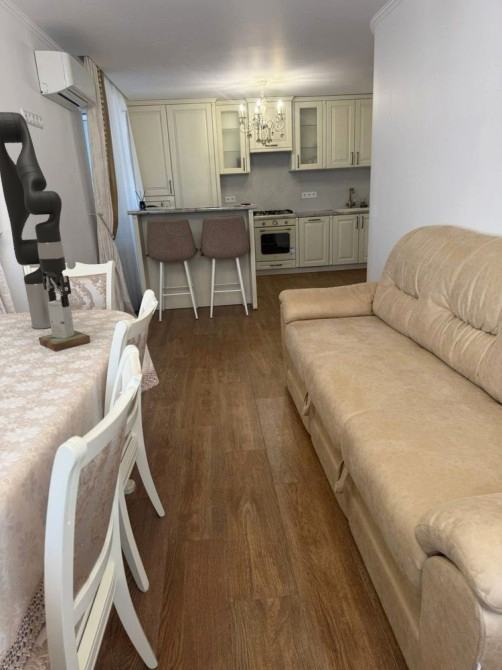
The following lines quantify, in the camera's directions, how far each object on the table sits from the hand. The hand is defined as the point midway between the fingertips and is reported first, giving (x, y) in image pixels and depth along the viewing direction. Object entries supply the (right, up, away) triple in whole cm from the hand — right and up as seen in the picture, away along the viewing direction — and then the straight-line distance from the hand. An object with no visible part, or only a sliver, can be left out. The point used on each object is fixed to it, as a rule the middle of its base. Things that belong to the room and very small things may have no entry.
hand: (59, 304), depth 149 cm
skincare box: (0, -11, +3) cm, 11 cm away
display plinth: (0, -13, +4) cm, 14 cm away
